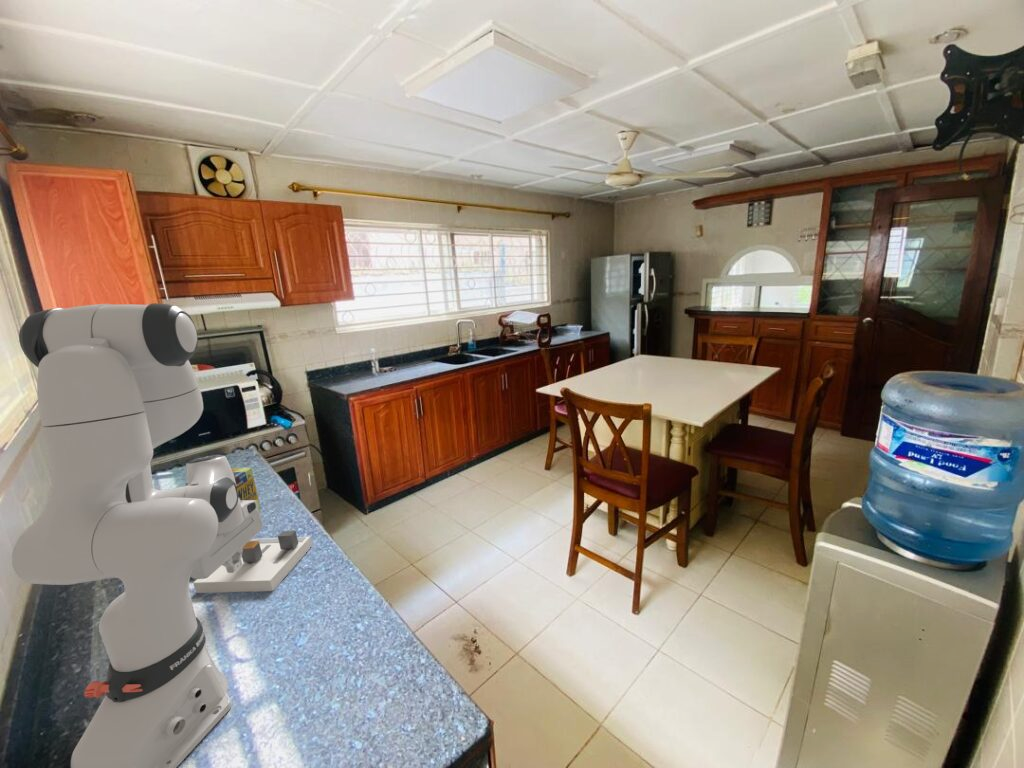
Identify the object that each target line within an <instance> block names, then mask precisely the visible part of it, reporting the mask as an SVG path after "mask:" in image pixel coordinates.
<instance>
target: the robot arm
mask: <svg viewBox="0 0 1024 768" xmlns="http://www.w3.org/2000/svg"><path fill="white" fill-rule="evenodd" d="M197 331H198V330H197V328H196V325H195V323H194V321H193V319H192V317H191V315H189V313H187V312H186V311H185V310H184V309H182V308H180V306H178V305H174V304H167V303H157V302H154V303H153V302H152V303H149V304H137V303H136V304H134V303H132V304H131V303H129V304H125V303H124V304H122V303H121V304H119V303H118V304H112V303H99V304H96V303H95V304H88V305H81V306H73V307H68V308H67V307H66V308H62V307H54V308H50V309H44V310H41V311H38V312H35V313H32V314H30V315H29V316H27V318H26V319H25V321H24V322H23V324H22V325H21V327H20V329H19V332H18V339H19V340H18V341H19V344H20V345H19V346H20V348H21V351H22V352H23V354H24V355H25V357H26V358H27V359H28V361H29V362H30V363H32V364H33V365H34V366H35V367H36V368H37V386H36V388H37V389H36V391H37V404H38V405H37V406H38V411H39V412H38V413H39V418H40V423H41V426H42V427H41V429H42V432H43V436H44V441H45V446H46V447H45V448H46V452H47V457H48V463H49V469H50V486H49V487H50V488H49V493H48V497H47V499H46V503H45V506H44V508H43V510H42V511H41V513H40V515H39V516H38V517H37V519H36V520H35V521H34V522H33V523H32V524H31V525H29V526H28V527H27V528H26V529H25V530H24V531H23V532H22V533H21V534H20V535H19V537H18V538H17V540H16V541H15V544H14V546H13V549H12V552H11V566H12V568H13V571H14V574H16V576H17V577H18V578H19V579H20V580H22V581H24V582H25V583H27V584H28V583H29V584H37V585H50V586H51V585H55V586H56V585H57V586H58V585H59V586H60V585H61V586H65V585H67V586H68V585H74V584H75V585H76V584H82V583H88V582H94V581H100V580H108V579H119V580H120V581H121V582H122V584H123V586H124V592H122V593H120V594H119V595H118V596H117V597H116V598H115V599H113V600H112V601H111V602H110V604H108V606H107V607H106V608H105V610H104V612H103V614H102V616H101V618H100V621H99V623H98V624H99V625H98V631H99V632H98V633H99V634H100V637H101V640H102V643H103V645H104V649H105V652H106V654H107V656H108V659H109V663H108V669H107V676H106V680H104V681H100V680H99V681H97V680H94V681H92V682H90V683H88V684H87V686H86V687H85V689H84V692H83V694H84V695H83V696H84V697H85V698H86V699H87V698H89V699H90V698H101V697H102V696H104V695H105V696H104V697H103V699H102V701H101V703H100V705H99V706H98V708H97V710H96V711H95V713H94V715H93V717H92V718H91V720H90V722H89V724H88V726H87V727H86V729H85V730H84V733H83V734H82V736H81V737H80V739H79V741H78V742H77V745H76V746H75V748H74V750H73V751H72V754H71V757H70V768H177V767H178V766H179V765H180V764H181V763H182V762H184V759H186V758H187V756H188V755H189V754H191V753H192V751H193V750H194V749H195V748H196V747H197V746H198V744H200V742H201V741H202V740H203V739H204V738H205V737H206V736H207V735H208V734H209V733H210V732H211V730H212V729H213V728H214V727H215V726H216V725H217V724H218V722H220V721H221V719H222V718H224V716H226V714H227V712H229V711H230V709H231V708H232V706H233V705H232V704H233V702H232V700H231V698H230V696H229V695H228V689H229V683H228V682H229V681H228V679H227V677H226V676H225V674H223V672H222V671H221V670H220V669H219V668H218V667H217V665H216V664H215V662H214V661H213V659H212V656H211V655H210V653H209V649H208V648H207V646H206V641H207V639H206V635H205V631H204V628H203V625H202V623H201V620H200V619H199V618H198V617H197V615H196V613H195V610H194V606H193V605H194V604H193V601H192V597H191V596H192V595H191V592H190V579H194V580H197V579H206V578H208V577H209V576H210V575H211V574H212V573H213V572H215V571H216V570H217V569H218V568H219V567H220V566H221V565H223V566H224V567H226V570H227V572H228V573H234V572H235V571H236V570H237V569H238V568H239V567H240V566H241V565H242V561H241V557H242V553H243V548H242V547H243V546H244V545H245V544H247V543H248V542H249V541H250V540H251V539H254V537H256V536H257V535H258V534H259V533H261V532H262V529H263V517H262V514H261V511H260V509H259V510H258V509H257V507H258V502H257V501H256V500H243V501H240V499H239V497H238V492H237V488H236V481H235V478H234V475H233V472H232V469H233V468H232V467H231V465H230V462H229V461H228V459H227V457H226V456H225V455H223V454H212V455H206V456H202V457H197V458H194V459H191V460H189V461H188V462H187V463H185V473H186V481H187V482H186V483H188V486H186V485H184V486H179V487H174V488H169V489H163V490H162V489H157V488H155V487H154V486H153V485H154V484H153V475H152V468H151V461H152V459H153V457H154V449H156V448H157V447H159V446H161V445H163V444H165V443H167V442H169V441H171V440H173V439H175V438H177V437H179V436H181V435H182V434H184V433H185V432H187V431H189V430H190V429H191V428H192V427H193V426H194V425H195V424H196V423H197V422H198V421H199V420H200V418H201V416H202V414H203V411H204V401H203V400H204V399H203V396H202V392H201V388H200V386H199V382H198V380H197V379H198V378H197V376H196V373H195V371H194V368H193V367H192V364H191V362H190V359H191V358H192V357H193V356H194V354H195V352H196V351H197V349H198V344H199V343H198V342H199V341H198V340H199V339H198V338H199V337H198V332H197ZM232 556H233V558H232ZM231 560H232V562H231Z"/></svg>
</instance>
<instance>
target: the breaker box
mask: <svg viewBox="0 0 1024 768" xmlns="http://www.w3.org/2000/svg"><path fill="white" fill-rule="evenodd" d="M297 539H298V545H297V546H296V547H295V548H294V549H281V548H280V544H279V540H278V537H267V538H252V539H251V540H250V541H259V544H260V548H261V552H262V557H261V558H260V559H259V560H258V561H257V562H243V559H242V557H241V561H242V565H241V566H240V567H239V568H238V569H237V570H236V571H235V572H234V573H228V572H227V570H226V567H224V566H223V565H221V566H220V567H219V568H218V569H217V570H216V571H215V572H213V573H212V574H211V575H210V576H209V577H208V578H206V579H195V580H194V581H193V582H192V583H193V587H194V591H195V594H208V593H209V594H213V593H215V594H217V593H218V594H219V593H250V592H253V593H255V592H273V591H275V589H276V588H277V587H278V586H279V585H280V583H281V582H282V581H283V580H284V579H285V578H286V576H287V575H288V574H290V572H291V571H292V570H293V569H294V568H295V567H296V565H297V564H298V563H299V562H300V561H301V559H302V558H303V557H304V556H305V555H306V554H307V553H308V552H309V550H311V548H313V543H312V542H313V541H312V538H311V536H297ZM310 547H311V548H310ZM306 552H307V553H306ZM232 558H233V556H232ZM299 560H300V561H299ZM231 562H232V560H231Z"/></svg>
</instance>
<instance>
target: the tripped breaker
mask: <svg viewBox="0 0 1024 768" xmlns="http://www.w3.org/2000/svg"><path fill="white" fill-rule="evenodd" d="M242 548H243V553H242V559H243V562H257V561H258V560H259V559H260V558H261V557H262V552H261V548H260V544H259V541H249V542H248V543H247V544H245V545H244V546H243V547H242Z"/></svg>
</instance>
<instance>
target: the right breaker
mask: <svg viewBox="0 0 1024 768" xmlns="http://www.w3.org/2000/svg"><path fill="white" fill-rule="evenodd" d="M297 537H298V536H297V532H296V530H283V531H282V532H281V533H280V534H278V535H277V538H278V540H279V544H280V548H281V549H294V548H295V547H296V546H297V545H298V539H297Z"/></svg>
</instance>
